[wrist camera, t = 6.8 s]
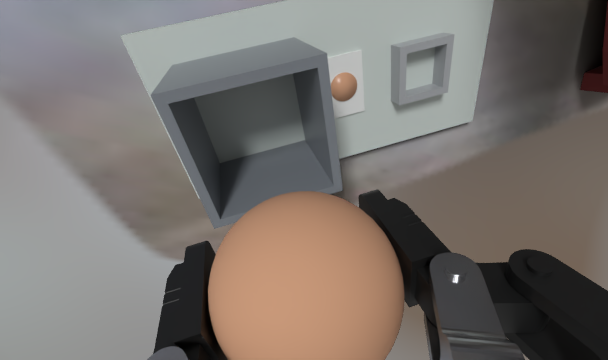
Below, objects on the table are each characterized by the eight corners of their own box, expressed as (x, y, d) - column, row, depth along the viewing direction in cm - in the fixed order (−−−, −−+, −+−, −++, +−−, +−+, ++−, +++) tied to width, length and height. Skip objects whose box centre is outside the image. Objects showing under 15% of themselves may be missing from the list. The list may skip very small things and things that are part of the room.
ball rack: (199, 192, 28) (192, 262, 20) (124, 34, 20) (68, 54, 12) (465, 117, 31) (543, 154, 24) (491, -44, 23) (619, -64, 16)
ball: (261, 129, 9) (309, 274, 4) (383, 195, 12) (495, 326, 7) (183, 256, 11) (156, 456, 6) (304, 287, 14) (351, 441, 9)
